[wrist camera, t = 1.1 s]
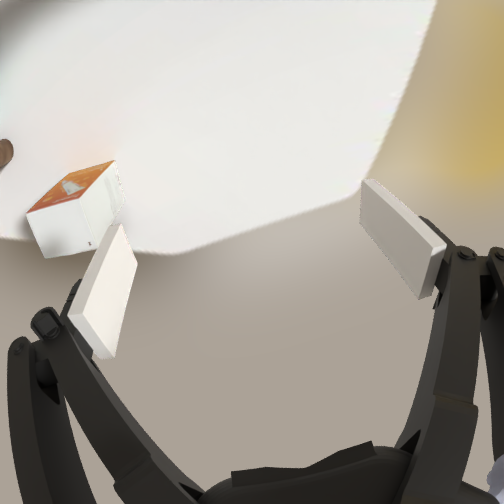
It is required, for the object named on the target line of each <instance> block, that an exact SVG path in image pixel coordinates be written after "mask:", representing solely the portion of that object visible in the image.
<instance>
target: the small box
mask: <svg viewBox="0 0 504 504" xmlns="http://www.w3.org/2000/svg"><path fill="white" fill-rule="evenodd" d="M125 200H126V198H125V195H124V191H123V188H122V184H121V181H120V177H119V174H118V170H117V166H116V162H115V160H113V161H110V162H107V163H104V164H100V165H97V166H93V167H90V168H86V169H83V170H79V171H76V172H72V173H69V174H68V175H67V176H65V177H64V178H63V179H62V180H61V181H60V182H59V183H57V184H56V185H55V186H54V187H53V188H52V189H51V190H50V191H49V192H48V193H46V194H45V195H44V196H43V197H42V198H41V199H40V200H39V201H38V202H37V203H36V204H35V205H34V206H33V207H32V208H31V209H30V210H29V211H28V212H27V213H26V214H25V215H26V217H27V220H28V222H29V225H30V227H31V229H32V232H33V234H34V236H35V239H36V241H37V243H38V245H39V247H40V250H41V252H42V254H43V256H44V258H45V259H48V258H54V257H59V256H66V255H72V254H77V253H80V252H85V251H89V250H95V249H97V248H98V246H99V244H100V242H101V240H102V238H103V236H104V235H105V233H106V231H107V229H108V227H109V226H111V224H112V223H113V221H114V219H115V217H116V216H117V214H118V212H119V210H120V209H121V207H122V205H123V203H124V202H125Z"/></svg>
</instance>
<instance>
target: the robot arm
mask: <svg viewBox="0 0 504 504" xmlns="http://www.w3.org/2000/svg"><path fill="white" fill-rule="evenodd" d="M360 224H361V225H362V227H363V228H364V229H365V230H366V232H367V233H368V234H369V235H370V237H371V238H372V239H373V240H374V242H375V243H376V244H377V245H378V246H379V248H380V249H381V250H382V252H383V253H384V254H385V256H386V257H387V258H388V260H389V261H390V262H391V263H392V265H393V266H394V267H395V269H396V270H397V271H398V273H399V274H400V275H401V277H402V278H403V280H404V281H405V282H406V284H407V285H408V286H409V288H410V289H411V291H412V292H413V293H414V295H415V296H416V298H417V299H418V300H419V299H422V298H425V297H428V296H431V295H432V292H433V289H434V286H436V287H437V289H438V290H439V293H438V295H437V298H436V301H435V304H434V306H433V309H435V313H434V319H433V325H432V330H431V335H430V340H429V344H428V349H427V353H426V358H425V362H424V366H423V370H422V374H421V377H420V381H419V385H418V388H417V392H416V395H415V398H414V401H413V405H412V408H411V411H410V414H409V417H408V419H407V422H406V425H405V428H404V430H403V432H402V434H401V435H400V437H399V439H398V441H397V443H396V445H395V447H394V448H393V447H386V446H373V444H372V441H369V442H366V443H363V444H360V445H357V446H353V447H350V448H347V449H344V450H340V451H338V452H336V453H334V454H332V455H330V456H328V457H327V458H325V459H323V460H321V461H319V462H317V463H315V464H313V465H311V466H309V467H306V468H274V467H263V468H257V469H248V470H241V471H231V478H229V479H226V480H224V481H222V482H219V483H218V484H216V485H214V486H213V487H211V488H210V489H209V490H207V491H206V492H205V491H204V490H203V489H201V488H200V487H199V486H198V485H197V484H196V483H195V482H193V481H192V480H191V479H189V478H188V477H187V476H186V475H185V474H184V473H183V472H181V470H180V469H179V468H178V467H177V466H175V464H174V463H173V462H172V461H171V460H170V459H169V458H168V457H167V456H166V455H165V454H164V453H163V451H162V450H161V449H160V448H159V447H158V446H157V445H156V444H155V442H154V441H153V440H152V439H151V438H150V437H149V435H148V434H147V433H146V432H145V431H144V429H143V428H142V427H141V426H140V425H139V423H138V422H137V421H136V420H135V418H134V417H133V416H132V415H131V413H130V412H129V411H128V410H127V408H126V407H125V406H124V404H123V403H122V401H121V400H120V399H119V397H118V396H117V394H116V393H115V392H114V390H113V389H112V387H111V386H110V385H109V383H108V382H107V380H106V379H105V377H104V376H103V374H102V373H101V371H100V370H99V368H98V367H97V365H96V364H95V362H94V361H93V360H92V354H93V351H94V353H95V354H96V355H97V356H98V358H99V359H110V358H114V357H115V353H116V348H117V343H118V339H119V334H120V330H121V325H122V321H123V317H124V313H125V309H126V305H127V301H128V297H129V293H130V289H131V285H132V282H133V279H134V275H135V271H136V268H137V265H138V264H137V261H136V259H135V256H134V254H133V252H132V249H131V247H130V244H129V242H128V239H127V237H126V234H125V232H124V229H123V227H122V224H121V223H120V224H116V225H112V226H109V227H108V229H107V231H106V233H105V235H104V236H103V238H102V240H101V242H100V244H99V246H98V248H97V250H96V252H95V254H94V256H93V258H92V260H91V263H90V265H89V267H88V269H87V271H86V273H85V275H84V277H83V279H79V280H78V281H77V282H76V283H75V285H74V286H73V287H72V289H71V292H70V294H69V296H68V298H67V302H66V303H65V305H64V307H63V310H62V312H61V314H60V316H59V315H58V314H57V312H56V311H55V309H53V307H46V308H43V309H41V310H40V311H39V312H37V313H36V314H35V316H34V317H33V318H32V321H31V329H32V330H33V331H34V332H35V334H36V335H37V336H38V337H39V339H40V340H38V341H35V342H33V343H31V342H30V341H29V340H28V339H27V338H26V337H23V336H22V337H19V338H17V339H16V340H14V341H13V342H12V344H11V346H10V348H9V350H8V363H7V396H8V416H9V428H10V437H11V445H12V452H13V458H14V464H15V469H16V475H17V480H18V484H19V488H20V493H21V496H22V500H23V504H97V503H96V501H95V499H94V496H93V494H92V491H91V488H90V486H89V484H88V480H87V478H86V475H85V472H84V469H83V466H82V463H81V460H80V457H79V454H78V451H77V447H76V443H75V440H74V437H73V432H72V428H71V425H70V420H69V416H68V412H67V408H66V403H65V398H66V400H67V402H68V403H69V406H70V408H71V410H72V411H73V413H74V415H75V417H76V419H77V421H78V423H79V424H80V426H81V428H82V430H83V431H84V433H85V435H86V437H87V438H88V440H89V442H90V443H91V445H92V447H93V448H94V450H95V451H96V453H97V454H98V456H99V457H100V459H101V461H102V462H103V464H104V465H105V467H106V468H107V469H108V471H109V472H110V474H111V475H112V477H113V478H114V480H115V483H114V485H113V486H114V489H115V491H116V492H117V494H118V496H119V497H120V498H121V500H122V501H123V502H124V503H125V504H504V249H503V248H499V247H492V248H491V249H490V251H489V254H488V256H477V254H476V253H475V252H474V251H473V250H472V249H470V248H468V247H465V246H456V245H455V244H453V242H452V241H451V240H450V239H449V238H448V237H446V236H445V235H444V234H443V233H442V232H441V231H440V230H439V229H438V228H437V227H435V225H434V224H433V223H431V222H430V221H429V220H428V219H426V218H424V217H422V216H417V215H416V214H415V213H413V212H412V211H411V210H410V209H409V208H408V207H407V206H406V205H404V204H403V203H402V202H401V201H400V200H399V199H397V198H396V197H395V196H394V195H393V194H392V193H390V192H389V191H388V190H387V189H386V188H384V187H383V186H382V185H381V184H380V183H378V182H377V181H376V180H375V179H366V180H362V185H361V208H360ZM480 332H481V336H482V341H483V347H484V353H485V359H486V366H487V373H488V381H489V390H490V402H491V419H492V445H493V455H494V461H495V463H494V465H493V467H492V470H491V471H490V472H489V474H488V475H487V483H488V484H489V485H490V489H489V491H488V492H485V491H483V490H481V489H479V488H476V487H474V486H472V485H470V484H468V483H466V482H464V481H462V477H463V474H464V471H465V467H466V464H467V461H468V457H469V454H470V450H471V446H472V442H473V438H474V433H475V428H476V424H477V418H478V407H477V406H476V405H474V404H473V397H474V391H475V384H476V376H477V367H478V356H479V343H480ZM64 396H65V398H64Z"/></svg>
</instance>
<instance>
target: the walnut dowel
mask: <svg viewBox="0 0 504 504" xmlns="http://www.w3.org/2000/svg"><path fill="white" fill-rule="evenodd" d="M12 157H13V146H12V144H11V142H10V141H9V140H7V139H2V140H0V168H1V167H2V166H4V165H5V164H7V163H8V162H10V161H11V159H12Z"/></svg>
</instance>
